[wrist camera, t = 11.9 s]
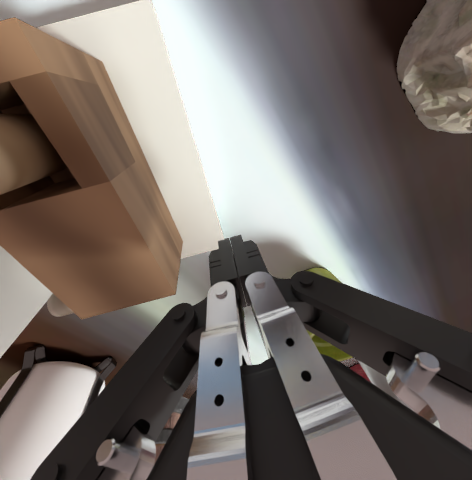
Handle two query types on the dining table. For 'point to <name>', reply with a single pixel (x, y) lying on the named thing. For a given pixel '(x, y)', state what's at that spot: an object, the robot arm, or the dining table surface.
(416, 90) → the ceramic cottage
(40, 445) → the coffee press
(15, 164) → the dowel
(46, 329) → the dining table surface
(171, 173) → the l-shaped bookend
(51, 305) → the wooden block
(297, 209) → the dining table surface
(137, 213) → the wooden square-hole block
